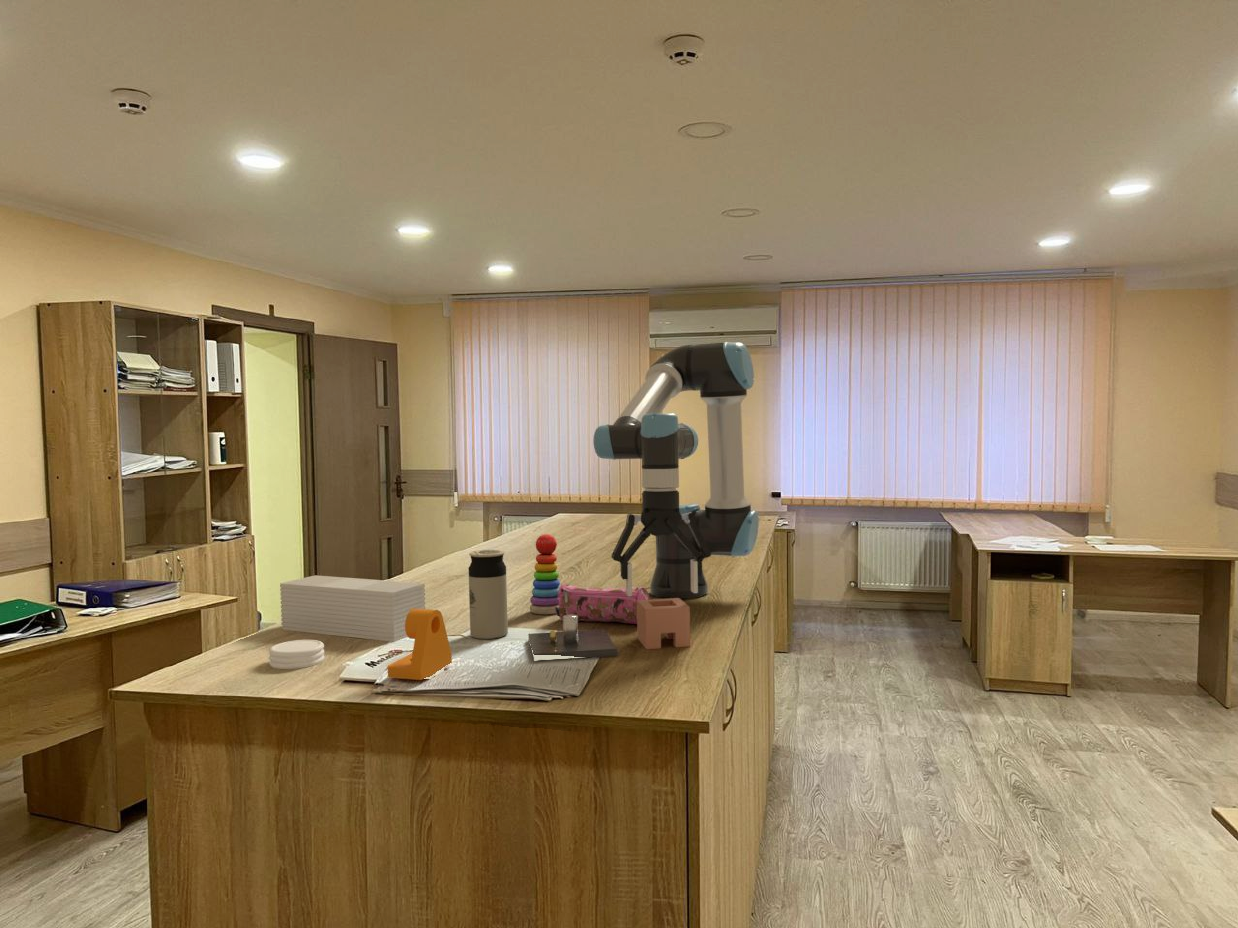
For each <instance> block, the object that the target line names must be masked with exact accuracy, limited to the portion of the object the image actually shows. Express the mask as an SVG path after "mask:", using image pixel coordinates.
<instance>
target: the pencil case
mask: <svg viewBox="0 0 1238 928" xmlns="http://www.w3.org/2000/svg"><path fill="white" fill-rule="evenodd" d="M649 594H650V593H649V592H648V590H647V588H646V587H644V586H637V587H632V596H628V595H627V594H626V587H621V588H613V587H610V588H609V587H608V588H607V587H606V588H604V587H603V588H601V587H598V588H597V587H595V588H594V587H579V586H576V585H572V584H569V583H567V582H564V583H562V584H560V586H559V592H558V598H559V608H557V607H555V612H556V613H555V616H557V617H559V619H560V620H562V621H563V616H564V615H577V616H578V622H587V623H588V622H601V623H603V622H604V623H610V622H611V623H613V622H617V623H623V624H630V625H632V624H633V625H637V600H650V595H649Z"/></svg>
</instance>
